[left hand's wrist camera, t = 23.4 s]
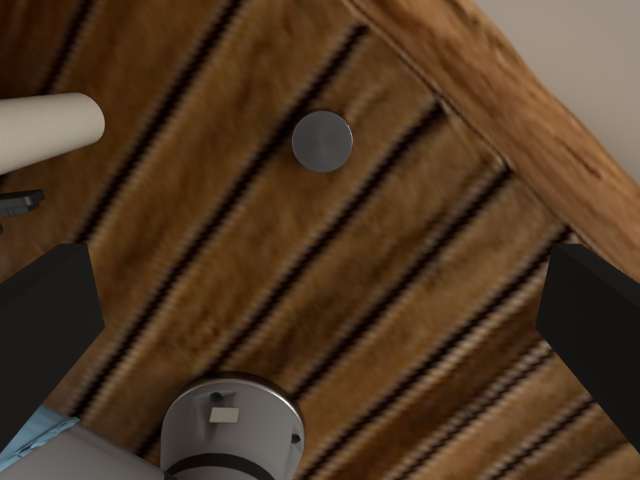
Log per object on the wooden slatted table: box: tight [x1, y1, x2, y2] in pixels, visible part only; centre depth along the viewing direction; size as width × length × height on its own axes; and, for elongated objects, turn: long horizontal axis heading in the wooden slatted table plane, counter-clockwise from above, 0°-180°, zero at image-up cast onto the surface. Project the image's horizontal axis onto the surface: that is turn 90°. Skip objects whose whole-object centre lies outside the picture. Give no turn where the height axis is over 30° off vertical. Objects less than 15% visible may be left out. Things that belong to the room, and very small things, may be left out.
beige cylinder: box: [0, 92, 105, 175], centre depth 29 cm, size 4×4×16 cm
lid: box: [292, 108, 353, 172], centre depth 35 cm, size 5×5×2 cm
